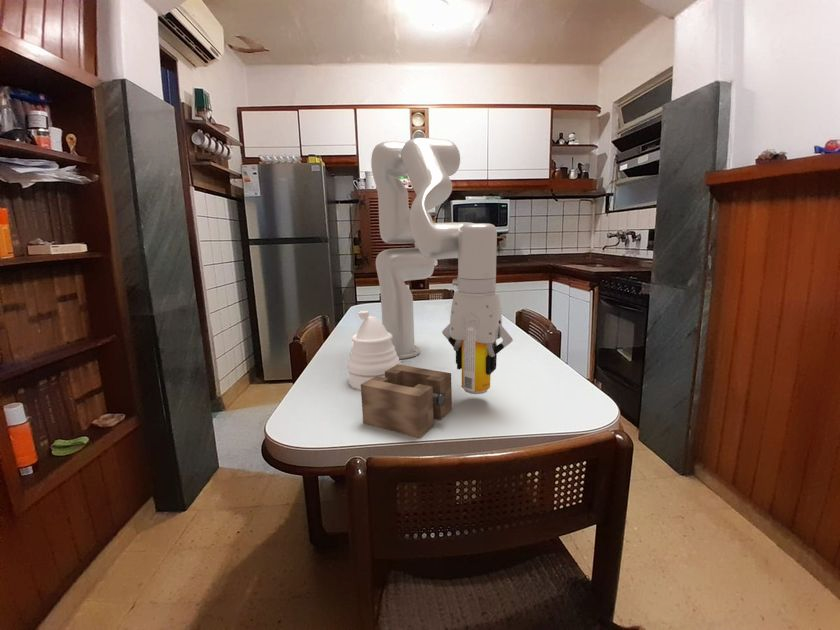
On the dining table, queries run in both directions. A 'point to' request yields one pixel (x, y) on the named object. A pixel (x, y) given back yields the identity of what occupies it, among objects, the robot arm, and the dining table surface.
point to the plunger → (439, 399)
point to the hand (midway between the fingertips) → (475, 369)
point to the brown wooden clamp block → (405, 399)
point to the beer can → (474, 364)
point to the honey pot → (370, 351)
